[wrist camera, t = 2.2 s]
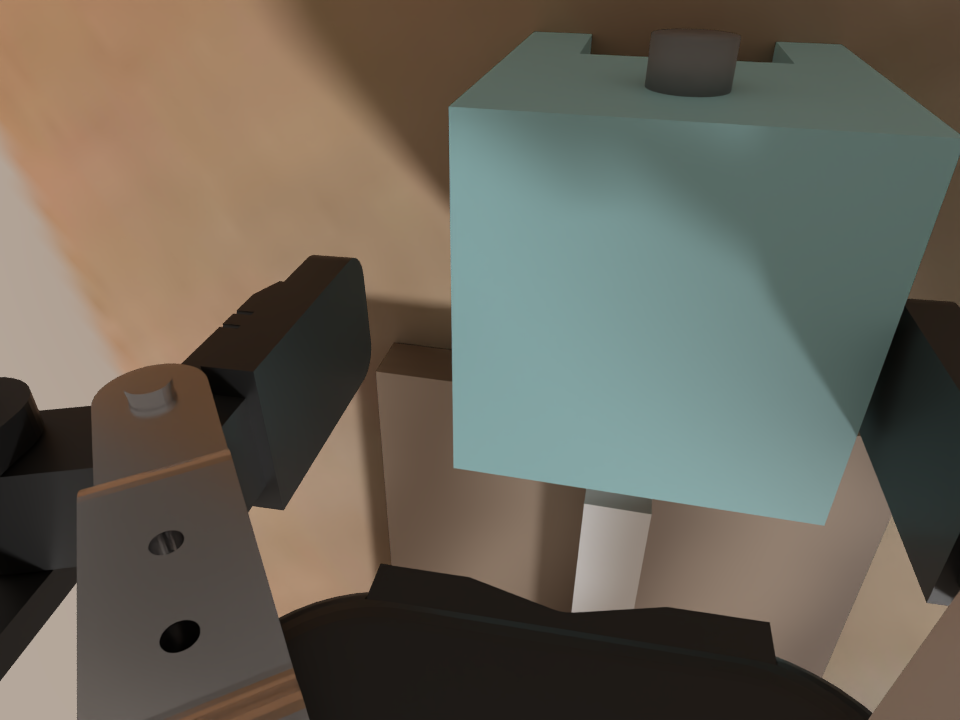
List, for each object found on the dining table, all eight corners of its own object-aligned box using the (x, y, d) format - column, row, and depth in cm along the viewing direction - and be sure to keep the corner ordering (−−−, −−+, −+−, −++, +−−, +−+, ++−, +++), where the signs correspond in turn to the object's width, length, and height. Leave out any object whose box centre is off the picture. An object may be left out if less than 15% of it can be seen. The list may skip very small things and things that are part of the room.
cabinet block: (851, 3, 13) (990, 72, 8) (771, 317, 17) (824, 525, 11) (536, -6, 15) (448, 46, 9) (522, 290, 18) (453, 468, 12)
